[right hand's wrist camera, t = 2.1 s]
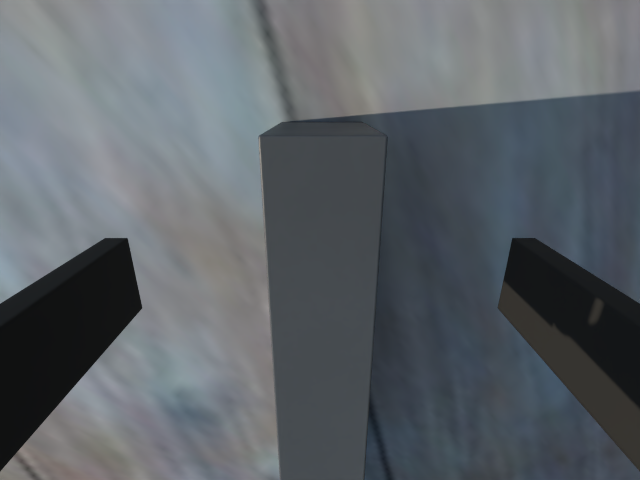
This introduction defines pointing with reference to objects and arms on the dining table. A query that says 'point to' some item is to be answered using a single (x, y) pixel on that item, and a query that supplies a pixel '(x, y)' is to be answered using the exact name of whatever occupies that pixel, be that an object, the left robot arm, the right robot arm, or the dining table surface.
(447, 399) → the dining table surface
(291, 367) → the bar
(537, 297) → the right robot arm
